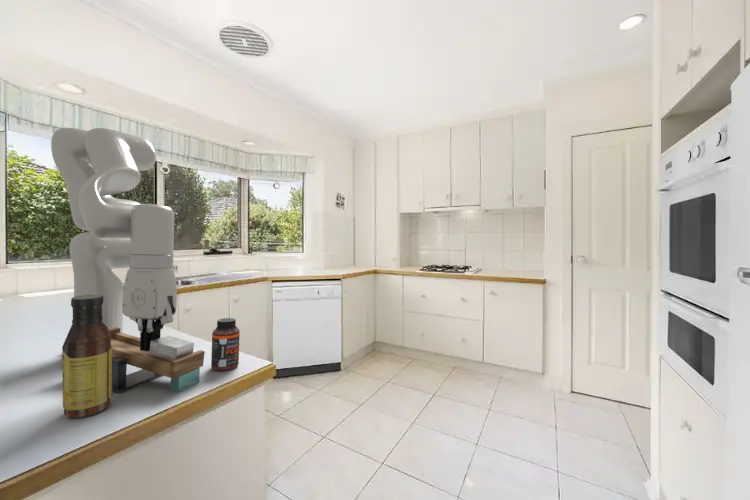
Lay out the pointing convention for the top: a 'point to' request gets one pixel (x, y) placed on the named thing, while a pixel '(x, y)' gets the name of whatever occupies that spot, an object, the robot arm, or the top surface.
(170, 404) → the top surface
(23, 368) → the top surface
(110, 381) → the sauce bottle
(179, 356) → the rider
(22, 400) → the top surface
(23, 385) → the top surface
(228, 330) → the supplement bottle
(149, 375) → the fulcrum
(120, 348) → the beam
